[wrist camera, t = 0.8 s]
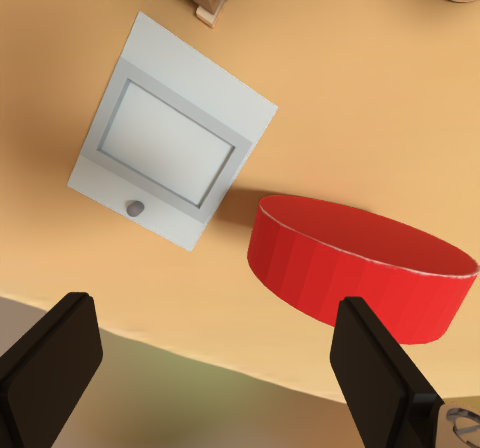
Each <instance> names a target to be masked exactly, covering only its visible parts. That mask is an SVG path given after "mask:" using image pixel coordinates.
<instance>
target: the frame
mask: <svg viewBox="0 0 480 448" xmlns="http://www.w3.org/2000/svg"><path fill="white" fill-rule="evenodd" d="M193 1H194V2H195V3H197V4H198V5H200V6H201V7H203V8H204V9H206V10H207V11H209V12H210V13H212V14H213V15H214V14H215V12H216V10H217V8H218V6H219V3H220V1H221V0H193Z"/></svg>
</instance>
